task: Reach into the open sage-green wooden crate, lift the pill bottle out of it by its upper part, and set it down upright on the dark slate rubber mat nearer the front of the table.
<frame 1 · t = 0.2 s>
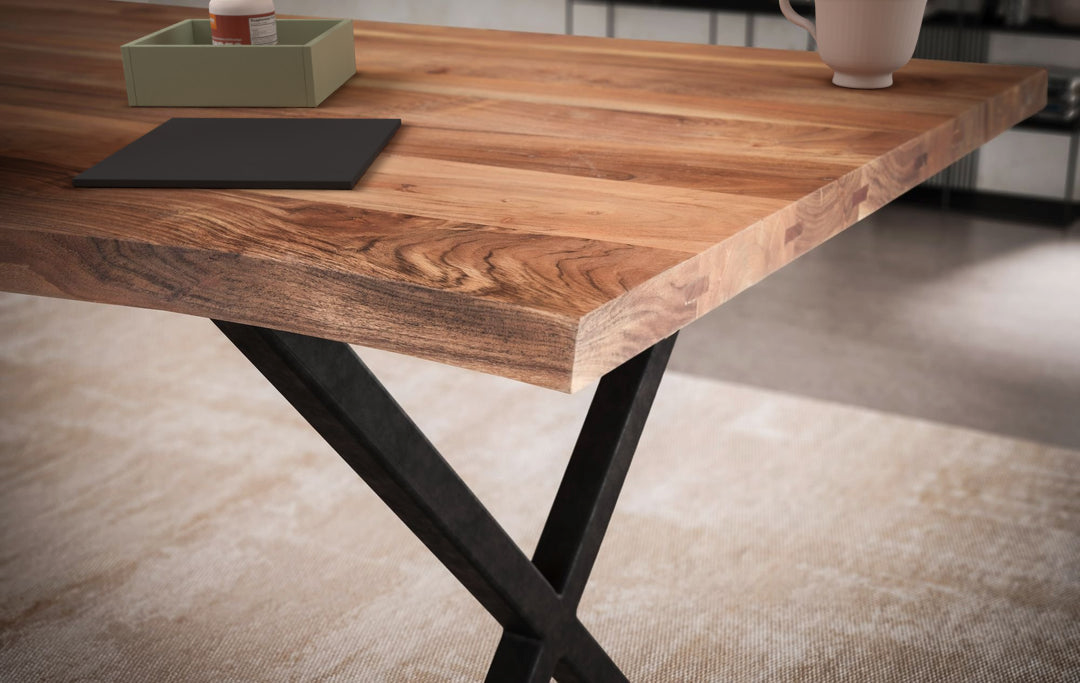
teacup: (847, 84, 115), on the table
crate: (250, 88, 115), on the table
pill bottle: (250, 90, 115), resting in crate
mat: (252, 153, 91), on the table
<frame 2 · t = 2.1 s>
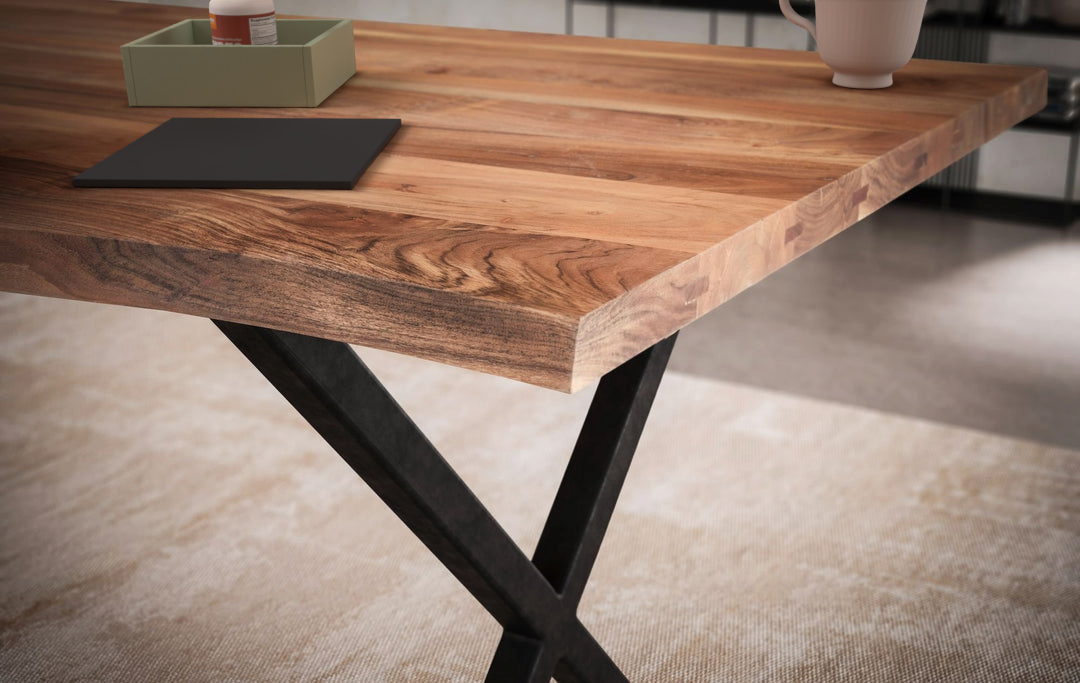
nothing on the table moved.
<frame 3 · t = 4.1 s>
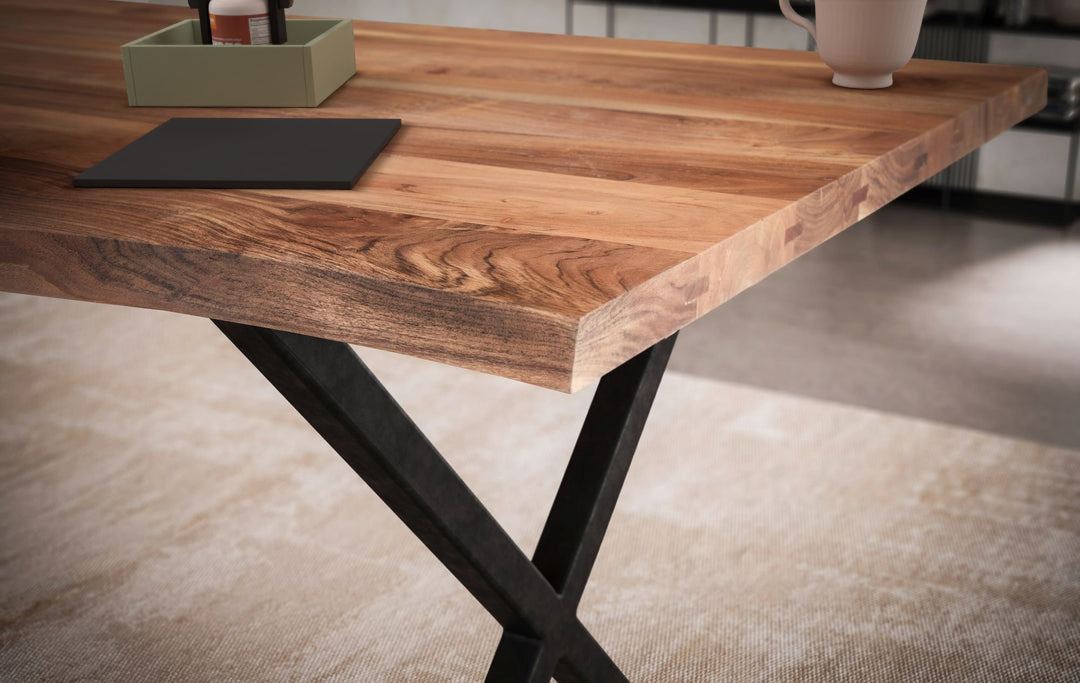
hand: (245, 42, 114), 4 cm above the table, tool pointing down, fingers closed on pill bottle, 6 cm apart
pill bottle: (250, 90, 115), resting in crate, touching gripper
everything else where it was.
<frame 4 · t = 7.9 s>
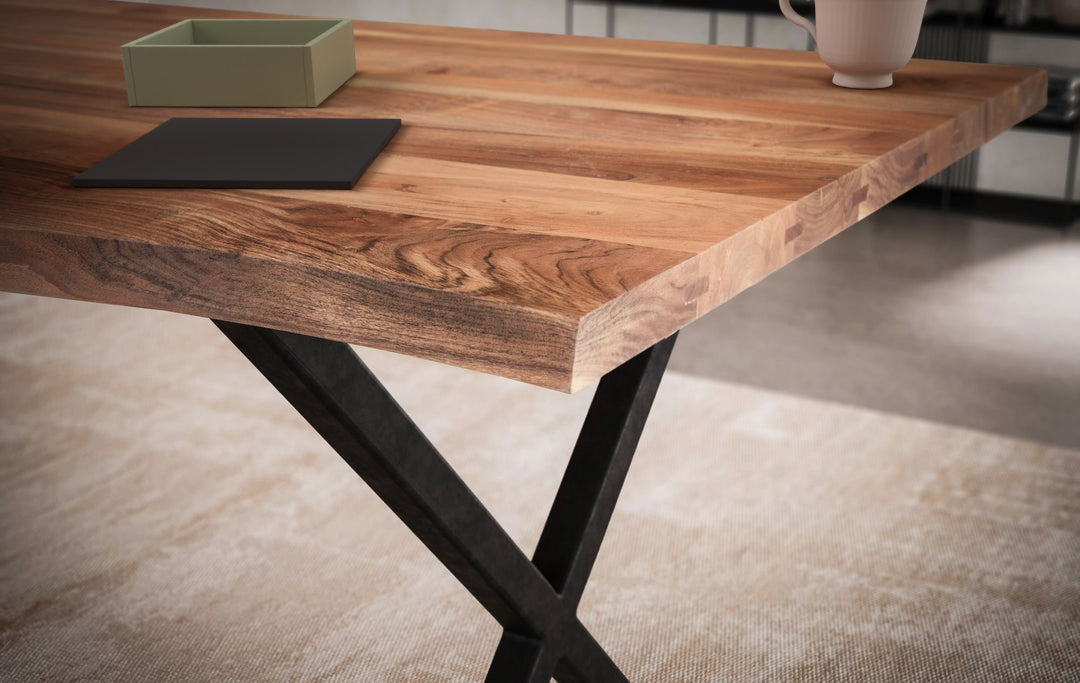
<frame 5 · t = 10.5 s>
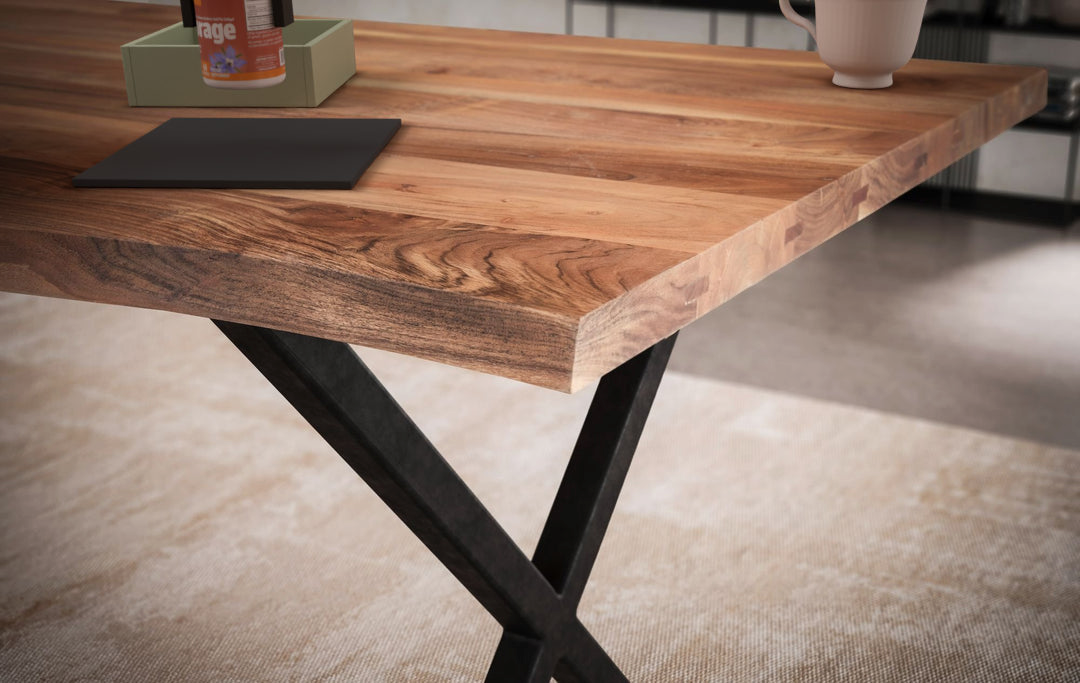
hand: (239, 24, 87), 10 cm above the table, tool pointing down, fingers closed on pill bottle, 6 cm apart
pill bottle: (246, 86, 89), point 5 cm above the table, touching gripper
everything else where it was.
when the fingers open (5 cm above the table, at t = 12.0 s): pill bottle stays where it is, resting on mat.
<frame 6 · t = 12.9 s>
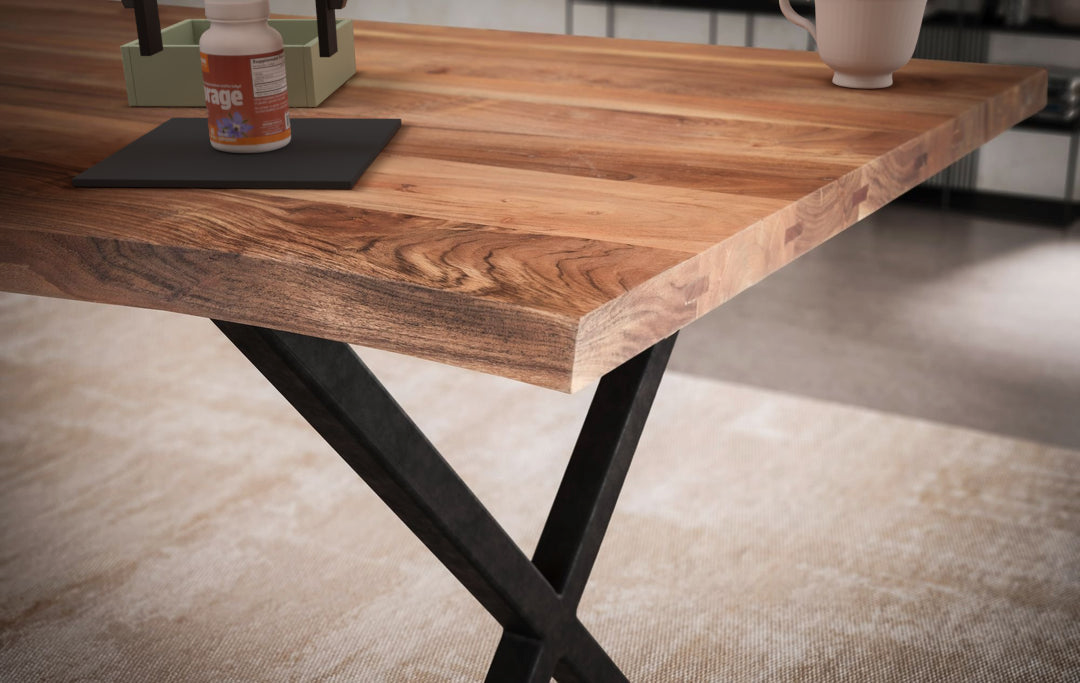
hand: (240, 54, 88), 8 cm above the table, tool pointing down, fingers open, 13 cm apart
pill bottle: (252, 148, 91), resting on mat
everything else where it was.
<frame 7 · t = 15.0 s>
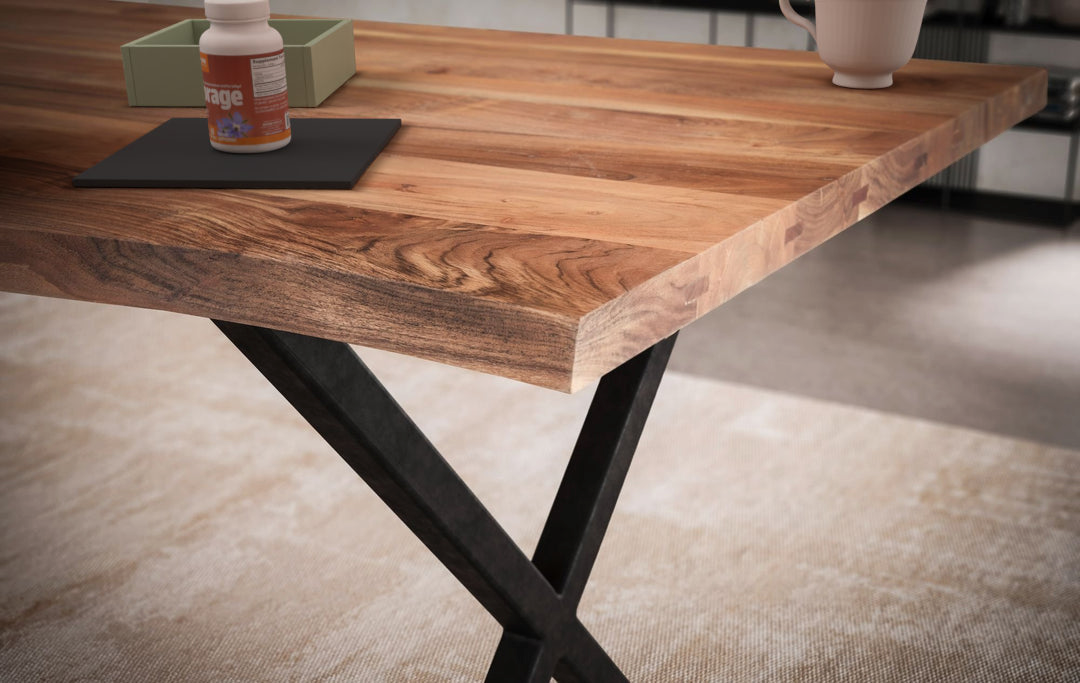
nothing on the table moved.
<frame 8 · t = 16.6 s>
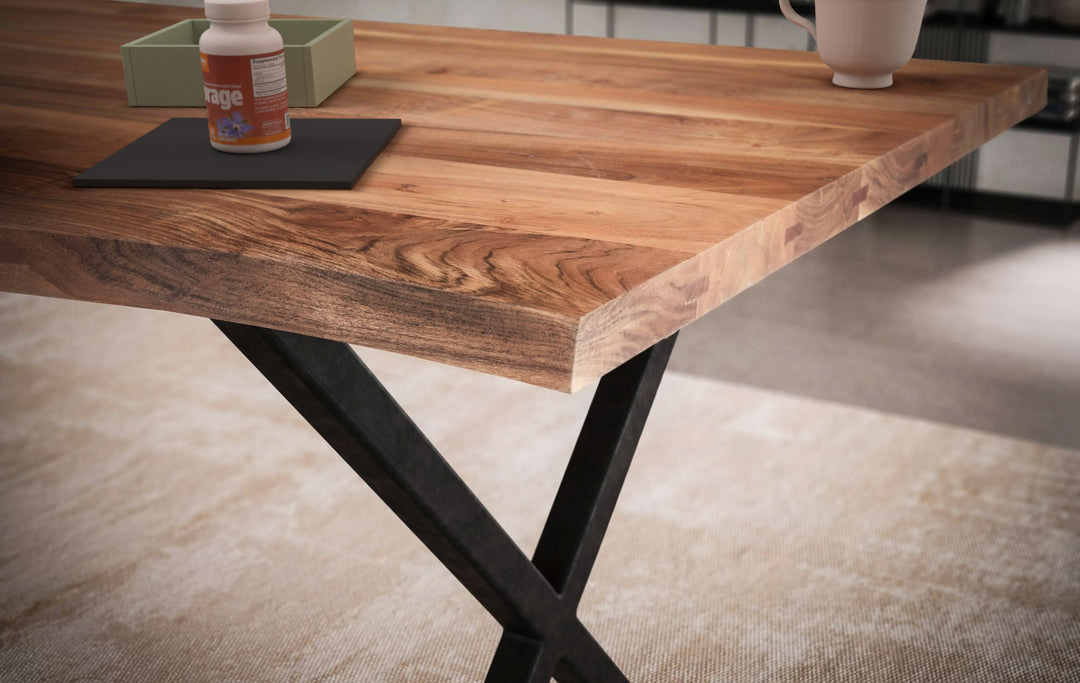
nothing on the table moved.
at the end: pill bottle inside the target area on the mat (0.0 cm from its centre), point 0.4 cm above the mat's base; pill bottle tilted 0°; the gripper is holding nothing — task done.
